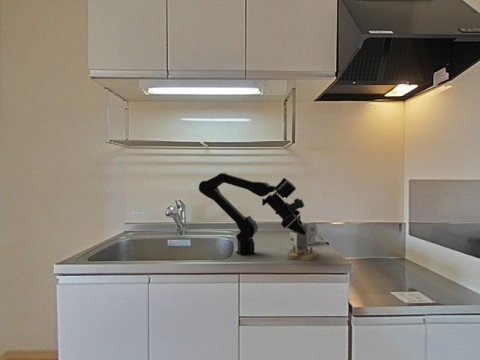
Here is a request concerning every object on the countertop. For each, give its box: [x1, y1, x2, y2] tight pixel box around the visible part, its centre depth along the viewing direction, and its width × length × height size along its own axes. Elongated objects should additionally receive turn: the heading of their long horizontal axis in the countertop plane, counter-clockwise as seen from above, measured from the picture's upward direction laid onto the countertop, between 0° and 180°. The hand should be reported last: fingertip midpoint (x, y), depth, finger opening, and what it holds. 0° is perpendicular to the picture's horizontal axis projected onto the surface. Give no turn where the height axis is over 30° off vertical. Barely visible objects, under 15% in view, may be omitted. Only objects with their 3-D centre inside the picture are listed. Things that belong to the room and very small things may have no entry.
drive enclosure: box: [296, 224, 309, 250], centre depth 152 cm, size 4×5×10 cm
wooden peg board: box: [286, 245, 318, 261], centre depth 152 cm, size 11×12×4 cm
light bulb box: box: [289, 219, 316, 246], centre depth 179 cm, size 11×7×11 cm, turn 115°
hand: (305, 233), depth 152 cm, fingers closed on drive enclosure, 5 cm apart
